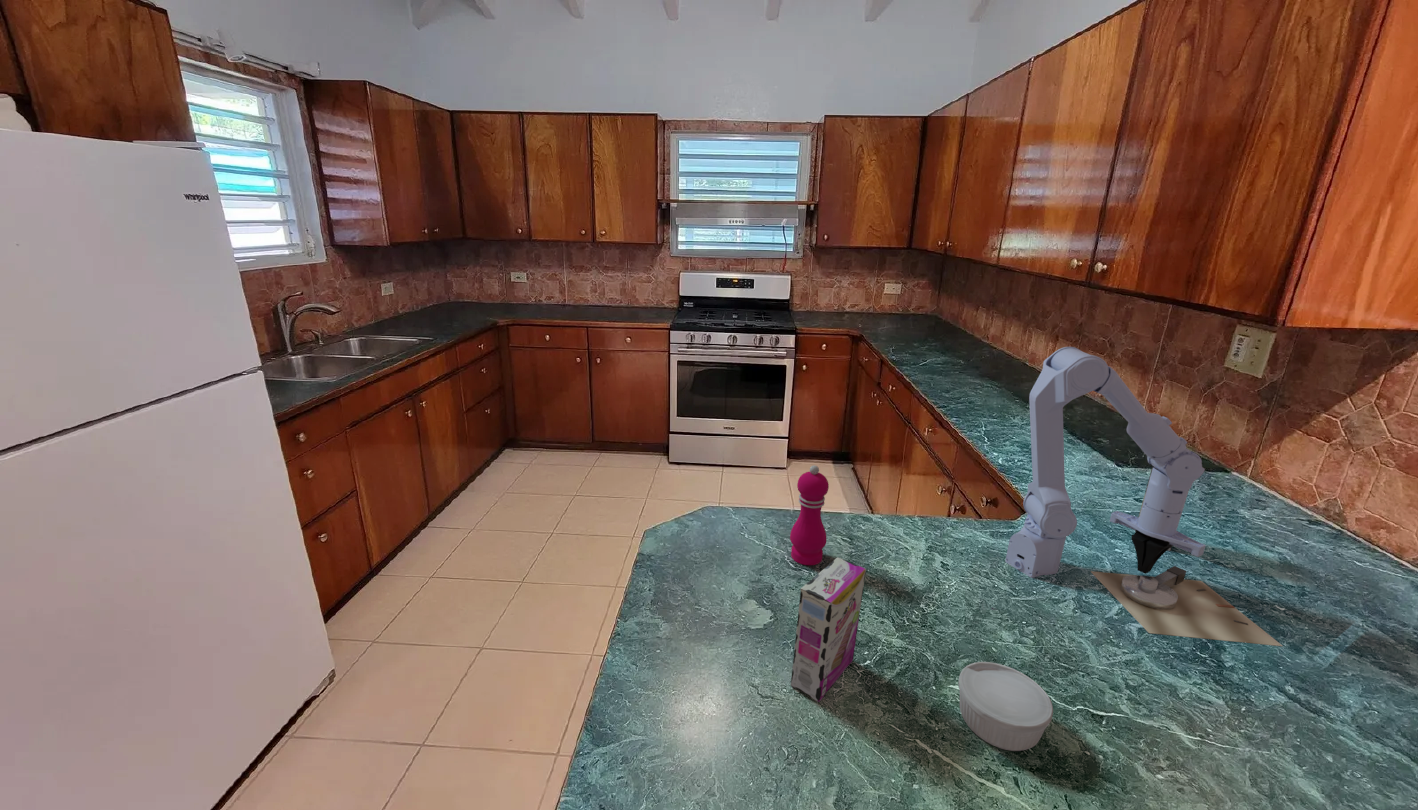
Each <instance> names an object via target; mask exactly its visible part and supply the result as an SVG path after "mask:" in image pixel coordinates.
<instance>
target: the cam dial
mask: <svg viewBox="0 0 1418 810" xmlns="http://www.w3.org/2000/svg"><path fill="white" fill-rule="evenodd" d="M1186 573H1187V570H1185V569H1183V568H1181V567H1178V566H1176V565H1173V566H1172V567H1170V568H1168V569H1166V570H1165V571H1163V572H1161V573H1160V574H1157V575H1155V576H1151V575H1147V574H1144V575H1143V574H1142V575H1139V574H1138V575H1139V576H1138V575H1137V574H1128V576H1125V577H1124V578H1123V580H1122V584H1121V590H1122V592H1123V593H1124V594H1125V595H1126V596H1128V597H1129V598H1130V599H1132V600H1134V601H1136V602H1138V603H1140V604H1143V605H1145V606H1148V607H1152V608H1156V609H1163V610H1168V609H1173V608H1174V607H1175V606H1176V603H1177V599H1178V595H1177V593H1176V592H1175V591H1174V590H1173V589H1172V588H1170V587H1171V586H1173V585H1177V584H1179V583H1181V582H1183V581H1184V579H1185V577H1186ZM1150 576H1151V577H1150Z"/></svg>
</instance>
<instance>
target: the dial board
mask: <svg viewBox="0 0 1418 810" xmlns="http://www.w3.org/2000/svg"><path fill="white" fill-rule="evenodd" d="M1090 572H1091V574H1092V575H1093V576H1094V577H1095V578H1096V579H1097V580H1098V581H1099V583H1101V584H1102V586H1104V587H1105V589H1106V590H1107V591H1109V593H1110V594H1111V595H1112V596H1113V597H1114V598H1115V599H1116V600H1117V601H1118V602H1119V603H1120V605H1121V606H1122V607H1123V608H1124V609H1125V610H1127V612H1128V613H1130V615H1131V616H1132V617H1133V618H1134V619H1135V620H1136V621H1137V622H1138V624H1140V625H1141V626H1142V627H1143V629H1145V631H1146V632H1147V633H1148V634H1153V635H1164V636H1175V637H1185V638H1194V639H1203V640H1213V641H1214V640H1216V641H1225V642H1233V643H1234V642H1236V643H1246V644H1255V645H1265V646H1276V647H1283V645H1282V644H1281V643H1280V642H1279V641H1277V640H1276V639H1275V638H1274V637H1272V636H1271V635H1270V634H1269V633H1268V632H1266V631H1265V630H1264V629H1262V628H1261V627H1260V626H1258V625H1257V623H1255V622H1253V621H1252V620H1251V619H1250V618H1248V617H1247V615H1245V614H1243V612H1241V611H1240V610H1238V608H1236V606H1234V605H1232V604H1231V603H1230V602H1228V601H1227V600H1226V599H1225V598H1224V597H1222V595H1219V594H1218V593H1217V592H1216V591H1215V590H1213V588H1211V587H1210V586H1209V585H1207V584H1206V583H1204V582H1203V580H1194V579H1185V578H1184V581H1183V582H1181V583H1179V584H1177V585H1173V586H1171V587H1170V588H1172V589H1173V590H1174V591H1175V592H1176V593H1177V595H1178V599H1177V603H1176V606H1175V607H1174V608H1173V609H1168V610H1163V609H1156V608H1152V607H1148V606H1145V605H1143V604H1140V603H1138V602H1136V601H1134V600H1132V599H1130V598H1129V597H1128V596H1126V595H1125V594H1124V593H1123V592H1122V590H1121V584H1122V580H1123V578H1124V577H1125V576H1128V575H1129V574H1127V573H1115V572H1114V573H1113V572H1106V571H1105V572H1103V571H1093V570H1091V571H1090ZM1138 576H1140V575H1139V574H1138ZM1149 576H1150V577H1152V576H1151V575H1149Z"/></svg>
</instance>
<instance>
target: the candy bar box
mask: <svg viewBox="0 0 1418 810" xmlns="http://www.w3.org/2000/svg"><path fill="white" fill-rule="evenodd" d="M866 573H867V568H865V567H863V566H860V565H857V564H855V563H853V562H850V561H848V560H845V559H843V558H841V557H838V556H837V557H836V558H835V559H834V560H832V562H830V563H829V564H828V565H826V567H824V568H823V569H822V570H821V571H820V572H819V573H817V574H816V575H815V576H814V577H812V578H811V579H810V580H808V582H806V583H805V584H804V585H803V586H801V588H800V592H799V593H800V596H799V604H798V611H797V614H798V615H797V623H796V631H795V640H794V641H795V642H794V652H793V659H792V660H793V661H792V668H791V679H790V687H792V688H793V689H795V690H796V691H798V692H800V693H802V694H803V695H805V696H806V697H808V698H809V699H811V700H813V701H815V702H817V703H820V701H822V699H823V698H824V696H825V695H827V693H828V692H829V691H830V689H832V687H833V686H834V684H835V683H836V681H837V680H839V678H840V677H841V676H842V674H844V672H845V671H846V669H847V668H848V667H849V666H850V665H851V663H852V662H853V661H854V656H855V648H856V642H857V635H858V628H859V627H858V626H859V620H860V615H861V609H862V607H861V606H862V600H863V592H864V589H865V588H864V587H865V586H864V585H865V579H866Z"/></svg>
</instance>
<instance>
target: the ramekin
mask: <svg viewBox="0 0 1418 810" xmlns="http://www.w3.org/2000/svg"><path fill="white" fill-rule="evenodd" d="M960 671H961V672H960V673H959V677H958V688H959V711H960V713H961V717H962V719H963V721H964V722H965V723H966V725H967V726H968V728H969V729H970V730H971V731H972V732H973V733H974V734H975V735H976V736H978V737H979V738H980V739H982V740H983V741H984V742H986V743H987V744H988V745H989V744H990V745H991V746H994V747H996V748H999V749H1001V750H1005V751H1011V752H1020V751H1027V750H1029V749H1031V748H1034V747H1035V746H1036V745H1037V744H1038V743H1039V741H1040V740H1041V738H1042V737H1043V734H1044V732H1045V731H1046V728H1047V727H1048V726H1049V725H1050V724H1051V722H1052V720H1053V714H1054V707H1053V702H1052V700H1051V698H1050V696H1049V695H1048V693H1047V692H1046V691H1045V690H1044V689H1043V688H1042V687H1041V686H1040V685H1039V684H1038V683H1037V682H1036V681H1035V680H1033V678H1031V677H1030V676H1028V675H1026V674H1024V673H1022V672H1021V671H1018V670H1017V669H1015V668H1013V667H1010V666H1007V665H1004V664H1000V663H996V662H991V661H990V662H989V661H977V662H972V663H970V664H967V665H966V666H964V667H963V669H962V670H960Z"/></svg>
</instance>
